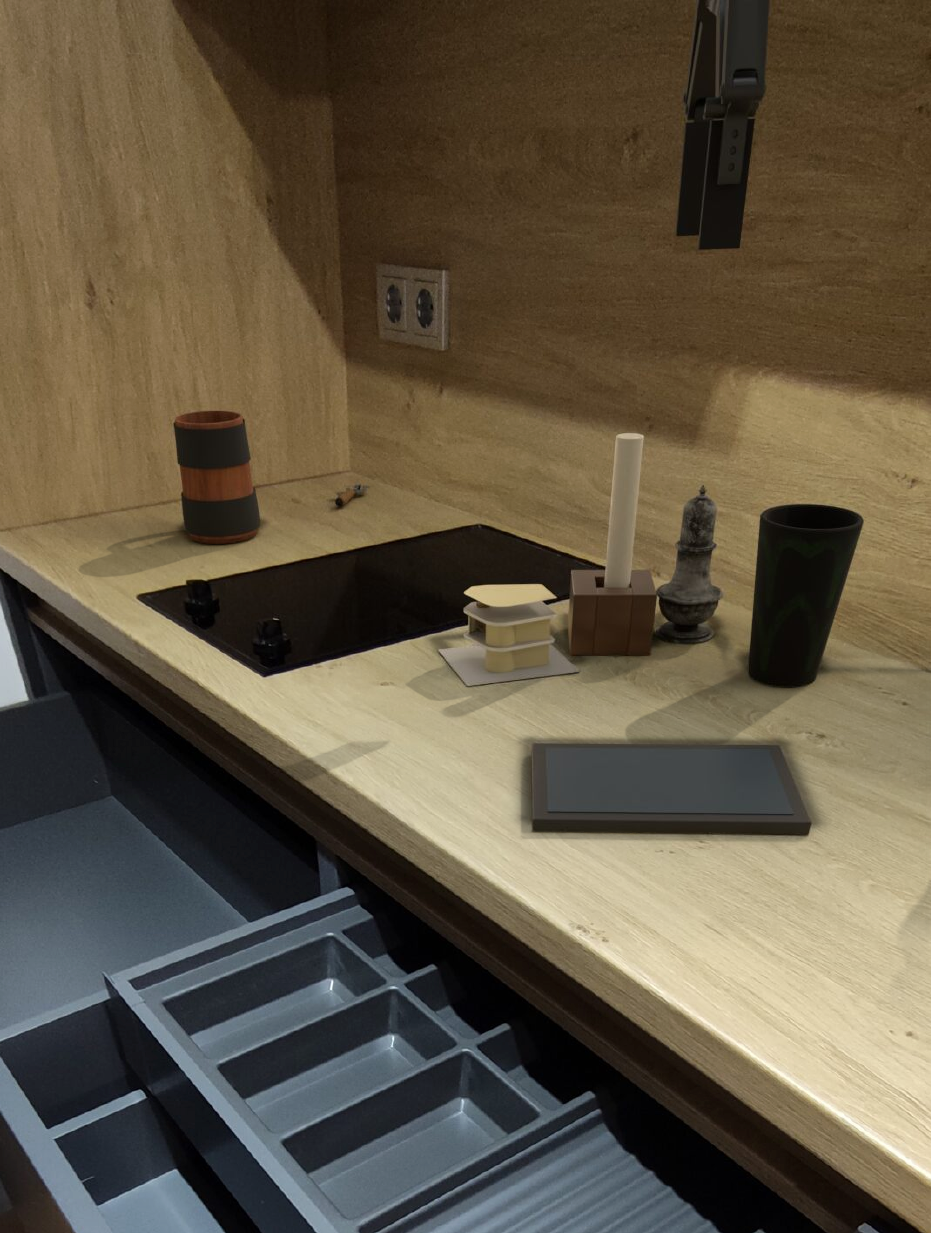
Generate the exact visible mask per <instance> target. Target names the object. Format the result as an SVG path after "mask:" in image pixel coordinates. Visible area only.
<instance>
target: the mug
mask: <svg viewBox="0 0 931 1233" xmlns="http://www.w3.org/2000/svg"><path fill="white" fill-rule="evenodd" d="M172 426H173V431H174V439H175V448H176V460H177V465H179V472H180V480H181V487H182V491H181V493H180V498H181V499H180V500H181V509H182V517H183V524H184V530H185V532H186V533H187V534H188V535H189V537H190V539H191V540H193V541H195V542H196V543H200V544H206V545H229V544H237V543H241V542H245V541H248V540H250V539H253V538H255V537H256V536H257V534H258V532H259V528H260V527H261V515H260V507H259V502H258V496H257V490H256V488H255V487H254V485H253V484H254V483H253V478H252V470H251V464H250V461H251V459H252V457H251V451H250V446H249V441H248V434H247V427H246V426H247V425H246V420H245V419H244V418H243V415H242V413H239V412H236V411H231V410H199V411H192V412H186V413H183V414H180V415H178V416H176V417H175V418H174V422H173V425H172Z"/></svg>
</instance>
